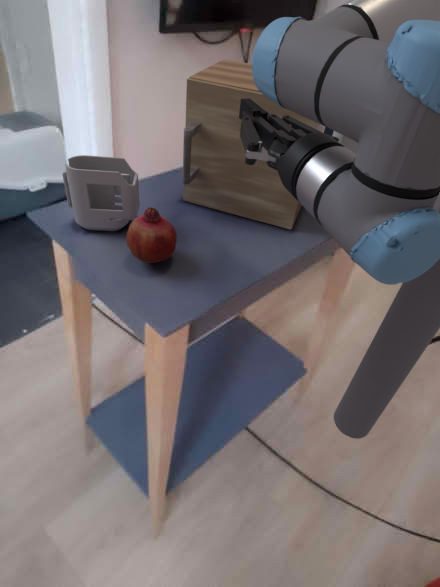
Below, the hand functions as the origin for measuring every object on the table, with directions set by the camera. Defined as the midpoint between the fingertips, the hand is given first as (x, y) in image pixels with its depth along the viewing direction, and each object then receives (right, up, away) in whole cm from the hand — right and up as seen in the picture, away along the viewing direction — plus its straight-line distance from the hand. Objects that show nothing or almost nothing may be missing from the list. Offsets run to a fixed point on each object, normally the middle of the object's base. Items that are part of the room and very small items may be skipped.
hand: (244, 108), depth 60 cm
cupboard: (+3, -6, +28) cm, 29 cm away
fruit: (-15, -23, +7) cm, 28 cm away
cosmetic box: (+24, -3, +35) cm, 42 cm away
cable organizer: (-24, -16, +14) cm, 32 cm away
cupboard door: (-1, -14, +19) cm, 23 cm away
